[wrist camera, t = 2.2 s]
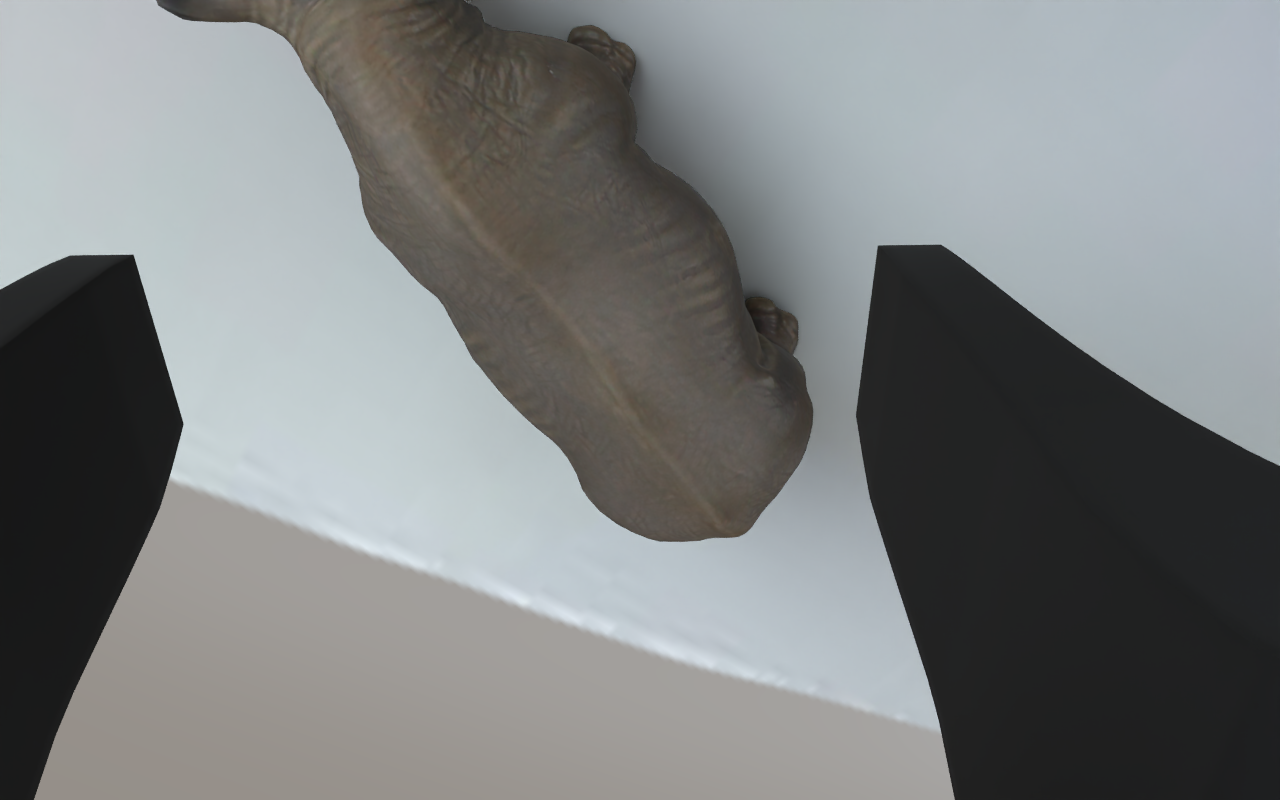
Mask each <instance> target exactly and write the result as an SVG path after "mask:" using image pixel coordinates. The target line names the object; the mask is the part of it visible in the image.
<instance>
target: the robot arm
mask: <svg viewBox="0 0 1280 800" xmlns="http://www.w3.org/2000/svg"><path fill="white" fill-rule="evenodd" d="M856 418H857V424H858V431H859V437H860V443H861V450H862V456H863V462H864V468H865V473H866V479H867V484H868V490H869V496H870V500H871V503H872V506H873V510H874V513H875V516H876V519H877V523H878V526H879V529H880V532H881V535H882V538H883V542H884V545H885V548H886V551H887V554H888V558H889V561H890V564H891V567H892V570H893V573H894V576H895V579H896V582H897V585H898V589H899V592H900V595H901V598H902V601H903V604H904V607H905V610H906V613H907V616H908V620H909V623H910V626H911V629H912V632H913V635H914V638H915V641H916V644H917V647H918V650H919V654H920V657H921V660H922V663H923V666H924V669H925V672H926V675H927V678H928V682H929V686H930V689H931V693H932V697H933V700H934V704H935V708H936V712H937V715H938V719H939V723H940V728H941V733H942V738H943V743H944V748H945V753H946V758H947V762H948V768H949V773H950V778H951V783H952V787H953V792H954V797H955V800H1280V466H1278V465H1276V464H1274V463H1272V462H1270V461H1268V460H1266V459H1264V458H1262V457H1260V456H1258V455H1256V454H1254V453H1252V452H1250V451H1248V450H1246V449H1244V448H1242V447H1240V446H1238V445H1236V444H1235V443H1233V442H1231V441H1229V440H1227V439H1225V438H1223V437H1222V436H1220V435H1218V434H1216V433H1214V432H1212V431H1210V430H1209V429H1207V428H1205V427H1203V426H1201V425H1199V424H1198V423H1196V422H1194V421H1192V420H1190V419H1188V418H1186V417H1185V416H1183V415H1181V414H1180V413H1178V412H1176V411H1174V410H1173V409H1171V408H1169V407H1168V406H1166V405H1164V404H1163V403H1161V402H1159V401H1158V400H1156V399H1154V398H1153V397H1151V396H1150V395H1148V394H1147V393H1145V392H1144V391H1142V390H1140V389H1139V388H1137V387H1136V386H1134V385H1133V384H1131V383H1130V382H1128V381H1127V380H1125V379H1124V378H1122V377H1120V376H1119V375H1117V374H1116V373H1114V372H1113V371H1111V370H1110V369H1108V368H1107V367H1105V366H1104V365H1102V364H1101V363H1099V362H1098V361H1096V360H1095V359H1094V358H1092V357H1091V356H1089V355H1088V354H1086V353H1085V352H1084V351H1082V350H1081V349H1079V348H1078V347H1076V346H1075V345H1074V344H1072V343H1071V342H1070V341H1068V340H1067V339H1065V338H1064V337H1063V336H1061V335H1060V334H1059V333H1057V332H1056V331H1055V330H1053V329H1052V328H1051V327H1049V326H1048V325H1047V324H1045V323H1044V322H1043V321H1041V320H1040V319H1039V318H1037V317H1036V316H1035V315H1033V314H1032V313H1031V312H1029V311H1028V310H1027V309H1026V308H1024V307H1023V306H1022V305H1020V304H1019V303H1018V302H1016V301H1015V300H1014V299H1013V298H1011V297H1010V296H1009V295H1008V294H1006V293H1005V292H1004V291H1002V290H1001V289H1000V288H999V287H997V286H996V285H995V284H993V283H992V282H991V281H990V280H988V279H987V278H986V277H985V276H983V275H982V274H981V273H979V272H978V271H977V270H976V269H974V268H973V267H972V266H970V265H969V264H968V263H966V262H965V261H964V260H962V259H961V258H960V257H958V256H957V255H956V254H954V253H953V252H951V251H950V250H948V249H947V248H945V247H944V246H942V245H883V246H878V250H877V257H876V265H875V273H874V280H873V288H872V296H871V303H870V311H869V319H868V326H867V334H866V342H865V350H864V357H863V365H862V373H861V380H860V388H859V396H858V403H857V411H856ZM183 425H184V424H183V421H182V417H181V414H180V410H179V407H178V404H177V400H176V397H175V393H174V390H173V387H172V383H171V380H170V377H169V373H168V370H167V366H166V363H165V360H164V356H163V353H162V350H161V346H160V343H159V339H158V336H157V333H156V329H155V326H154V323H153V319H152V316H151V312H150V309H149V306H148V302H147V299H146V295H145V292H144V289H143V285H142V282H141V279H140V275H139V272H138V268H137V265H136V262H135V258H134V255H79V256H68V257H66V258H63V259H61V260H58V261H56V262H53V263H51V264H49V265H47V266H45V267H43V268H40V269H38V270H36V271H35V272H33V273H31V274H29V275H27V276H25V277H23V278H21V279H19V280H17V281H15V282H14V283H12V284H10V285H8V286H6V287H4V288H3V289H1V290H0V800H34V798H35V795H36V792H37V789H38V786H39V783H40V780H41V777H42V774H43V771H44V767H45V765H46V762H47V759H48V756H49V753H50V750H51V747H52V744H53V741H54V738H55V736H56V733H57V731H58V728H59V726H60V723H61V721H62V719H63V716H64V714H65V711H66V709H67V707H68V704H69V702H70V699H71V697H72V695H73V692H74V690H75V688H76V686H77V684H78V682H79V680H80V677H81V675H82V673H83V671H84V669H85V667H86V665H87V663H88V661H89V659H90V656H91V654H92V652H93V650H94V648H95V646H96V644H97V642H98V640H99V638H100V636H101V633H102V631H103V629H104V627H105V625H106V623H107V621H108V619H109V617H110V614H111V612H112V610H113V608H114V606H115V604H116V602H117V600H118V598H119V596H120V593H121V591H122V589H123V587H124V585H125V583H126V581H127V578H128V577H129V575H130V572H131V570H132V568H133V566H134V564H135V561H136V559H137V557H138V555H139V553H140V551H141V549H142V546H143V544H144V542H145V540H146V538H147V535H148V533H149V531H150V529H151V527H152V524H153V522H154V520H155V517H156V515H157V513H158V511H159V509H160V505H161V502H162V499H163V496H164V493H165V489H166V486H167V483H168V480H169V476H170V473H171V470H172V466H173V462H174V459H175V455H176V451H177V447H178V443H179V440H180V436H181V432H182V428H183Z"/></svg>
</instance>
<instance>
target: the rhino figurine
mask: <svg viewBox="0 0 1280 800" xmlns="http://www.w3.org/2000/svg"><path fill="white" fill-rule="evenodd" d="M156 1H157V3H158V5H159V6H160V7H162V8H164V9H165V10H167V11H169V12H171V13H172V14H174V15H176V16H178V17H180V18H182V19H185V20H190V21H205V22H252V23H257V24H260V25H262V26H264V27H267V28H269V29H272V30H273V31H275V32H277V33H278V34H280V35H281V36H283V37H284V38H285V39H286V40H287V41H288V42H289V43H290V44H291V45H292V47H293V48H294V50H295V51H296V53H297V54H298V56H299V58H300V60H301V62H302V65H303V67H304V70H305V72H306V73H307V75H308V76H309V78H310V79H311V81H312V83H313V84H314V86H315V87H316V89H317V90H318V91H319V93H320V94H321V95H322V96H323V98H324V100H325V102H326V104H327V106H328V107H329V108H330V110H331V111H332V114H333V116H334V118H335V120H336V123H337V125H338V127H339V129H340V131H341V133H342V135H343V138H344V140H345V142H346V144H347V146H348V148H349V150H350V153H351V155H352V158H353V161H354V164H355V166H356V169H357V171H358V174H359V186H360V191H361V197H362V204H363V208H364V212H365V216H366V218H367V220H368V222H369V225H370V227H371V229H372V231H373V232H374V234H375V235H376V237H377V238H378V239H379V240H380V241H381V242H382V243H383V244H384V245H385V246H386V247H387V248H388V249H389V250H390V251H391V252H392V253H393V254H394V256H395V257H396V258H397V259H398V260H399V261H400V262H401V264H402V265H403V266H404V267H405V268H406V269H407V270H408V272H409V273H410V274H411V275H412V276H413V277H414V278H415V279H416V280H417V281H418V282H419V283H420V284H421V285H422V286H424V287H425V288H426V289H427V290H429V291H430V292H431V293H432V294H434V295H435V296H436V297H437V298H438V299H439V300H440V302H441V303H442V304H443V306H444V307H445V309H446V311H447V313H448V315H449V317H450V319H451V320H452V322H453V324H454V326H455V328H456V329H457V331H458V333H459V335H460V336H461V338H462V339H463V341H464V342H465V344H466V347H467V349H468V351H469V353H470V355H471V356H472V358H473V360H474V361H475V362H476V363H477V364H478V365H479V367H480V368H481V369H482V370H483V372H484V373H485V374H486V376H487V377H488V378H489V379H490V380H491V382H492V383H493V384H494V385H495V386H496V388H497V389H498V390H499V391H500V392H501V394H502V395H503V396H504V397H505V398H506V399H507V400H508V401H509V402H510V403H511V404H512V405H513V406H514V407H515V408H516V409H517V410H518V411H519V412H520V413H521V414H522V415H523V416H524V417H525V418H526V419H527V420H528V421H530V422H531V423H532V424H533V425H534V426H535V427H536V428H537V429H539V430H540V431H541V432H542V433H544V434H545V435H546V436H547V437H549V438H550V439H551V440H552V441H553V442H554V443H555V444H556V445H557V446H558V447H559V448H560V449H561V450H562V451H563V453H564V454H565V455H566V456H567V458H568V459H569V461H570V463H571V465H572V466H573V468H574V470H575V472H576V474H577V476H578V479H579V482H580V484H581V487H582V489H583V491H584V492H585V494H586V496H587V497H588V498H589V500H590V501H591V502H592V503H593V504H594V505H595V506H596V507H597V508H598V510H599V511H600V512H602V513H603V514H604V515H606V516H607V517H608V518H610V519H611V520H612V521H614V522H615V523H617V524H618V525H620V526H622V527H624V528H626V529H628V530H629V531H631V532H633V533H636V534H638V535H641V536H643V537H646V538H648V539H652V540H656V541H666V542H685V541H700V540H704V539H708V538H730V537H739V536H741V535H743V534H745V533H746V532H747V531H748V530H749V529H751V527H752V526H753V525H754V523H755V522H756V520H757V519H758V517H759V516H760V514H761V513H762V512H763V510H764V509H765V508H766V507H767V506H768V504H769V503H770V502H771V501H772V500H773V499H774V498H775V497H776V496H777V495H778V493H779V492H780V490H781V489H782V488H783V486H784V485H785V483H786V482H787V481H788V479H789V478H790V476H791V475H792V474H793V472H794V471H795V469H796V468H797V467H798V465H799V463H800V461H801V460H802V458H803V455H804V453H805V451H806V448H807V445H808V441H809V438H810V433H811V429H812V423H813V405H812V402H811V399H810V397H809V394H808V392H807V387H806V376H805V372H804V369H803V367H802V365H801V364H800V363H799V361H798V360H797V359H796V358H795V357H794V356H793V353H794V350H795V348H796V346H797V343H798V321H797V319H796V318H795V316H793V315H792V314H790V313H788V312H786V311H783V310H781V309H779V308H777V307H776V306H775V304H774V303H773V301H771V300H769V299H767V298H762V297H753V298H749V299H747V300H746V302H745V300H744V295H743V290H742V285H741V279H740V274H739V270H738V266H737V262H736V257H735V254H734V250H733V247H732V245H731V242H730V240H729V237H728V235H727V233H726V230H725V228H724V226H723V225H722V223H721V221H720V220H719V218H718V217H717V215H716V214H715V212H714V211H713V209H712V208H711V207H710V206H709V205H708V203H707V202H706V201H705V200H704V199H703V198H702V197H701V196H700V195H699V194H698V193H697V192H696V191H695V190H694V189H693V188H692V187H691V186H690V185H689V184H687V183H686V182H685V181H683V180H682V179H681V178H679V177H678V176H676V175H675V174H674V173H672V172H670V171H669V170H667V169H665V168H663V167H661V166H659V165H657V164H656V163H654V162H653V161H652V160H651V159H650V157H649V156H648V155H647V154H646V153H645V151H644V150H642V149H641V148H640V147H639V146H638V145H636V144H635V137H636V133H637V116H636V112H635V107H634V104H633V102H632V99H631V97H630V95H629V92H630V86H631V83H632V79H633V75H634V71H635V67H636V59H635V55H634V53H633V51H632V49H631V48H630V47H629V46H627V45H626V44H625V43H621V42H616V41H613V40H612V39H611V38H610V37H609V36H608V34H607V33H606V32H604V31H603V30H601V29H600V28H598V27H595V26H592V25H588V26H580V27H576V28H573V30H572V31H571V32H570V34H569V37H568V40H567V42H566V41H563V40H560V39H557V38H553V37H547V36H541V35H536V34H531V33H525V32H520V31H503V30H500V29H497V28H495V27H492V26H490V25H488V24H486V23H485V22H484V20H483V17H482V14H481V12H480V10H479V9H478V8H477V7H475V6H473V5H470V4H468V3H467V2H465V1H464V0H156Z"/></svg>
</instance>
